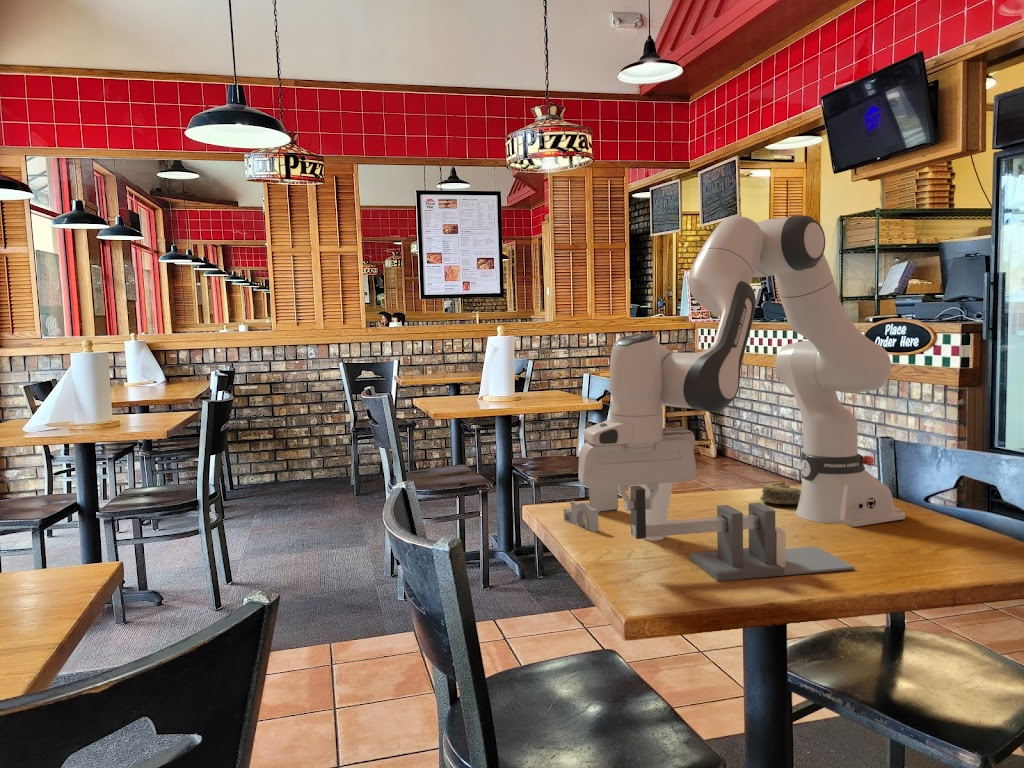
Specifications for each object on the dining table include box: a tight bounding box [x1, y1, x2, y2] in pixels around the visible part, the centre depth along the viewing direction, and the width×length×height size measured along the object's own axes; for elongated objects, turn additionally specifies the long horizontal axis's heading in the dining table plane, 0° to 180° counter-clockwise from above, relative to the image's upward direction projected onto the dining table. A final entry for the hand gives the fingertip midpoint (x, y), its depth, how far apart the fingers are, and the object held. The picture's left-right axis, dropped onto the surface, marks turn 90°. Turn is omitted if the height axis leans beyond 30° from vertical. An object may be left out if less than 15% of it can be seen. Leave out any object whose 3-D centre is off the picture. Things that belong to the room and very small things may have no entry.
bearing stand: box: [689, 502, 785, 582], centre depth 132 cm, size 12×12×10 cm
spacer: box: [775, 525, 786, 567], centre depth 134 cm, size 2×6×6 cm, turn 9°
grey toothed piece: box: [562, 500, 601, 533], centre depth 161 cm, size 12×2×6 cm, turn 29°
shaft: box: [629, 485, 760, 540], centre depth 131 cm, size 23×3×8 cm, turn 99°
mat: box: [783, 546, 855, 576], centre depth 135 cm, size 13×12×1 cm
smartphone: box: [588, 486, 619, 513], centre depth 173 cm, size 7×1×15 cm, turn 106°
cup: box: [630, 482, 674, 542], centre depth 152 cm, size 11×11×18 cm
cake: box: [760, 478, 801, 505], centre depth 178 cm, size 10×10×5 cm
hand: (638, 509), depth 129 cm, fingers closed on shaft, 2 cm apart
